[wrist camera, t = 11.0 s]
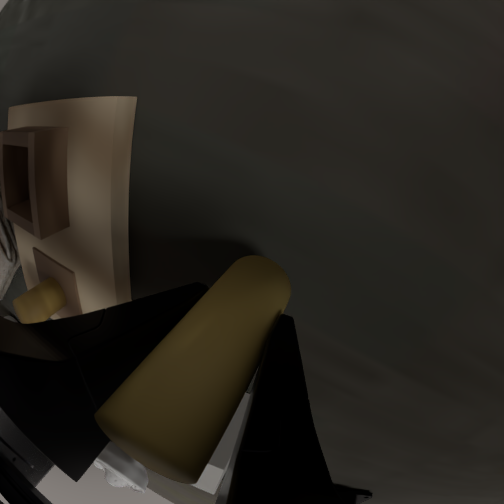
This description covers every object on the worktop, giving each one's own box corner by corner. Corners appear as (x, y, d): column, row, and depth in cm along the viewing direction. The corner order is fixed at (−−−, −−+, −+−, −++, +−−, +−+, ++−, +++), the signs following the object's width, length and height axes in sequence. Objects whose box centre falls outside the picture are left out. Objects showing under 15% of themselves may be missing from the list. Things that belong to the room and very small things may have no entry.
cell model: (90, 425, 33) (66, 451, 27) (124, 434, 27) (95, 470, 22) (132, 463, 35) (112, 489, 29) (175, 477, 29) (152, 510, 23)
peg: (281, 322, 11) (196, 492, 5) (223, 300, 11) (107, 443, 5) (298, 268, 9) (199, 464, 3) (232, 246, 10) (81, 392, 4)
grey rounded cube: (241, 440, 17) (213, 494, 13) (164, 405, 19) (129, 451, 15) (258, 397, 15) (223, 470, 10) (159, 353, 16) (110, 409, 12)
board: (138, 361, 17) (96, 407, 13) (40, 294, 20) (3, 320, 16) (137, 96, 10) (44, 98, 6) (22, 105, 13) (-33, 115, 9)
